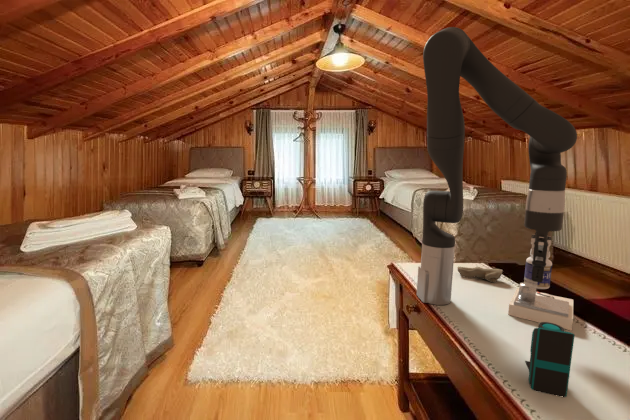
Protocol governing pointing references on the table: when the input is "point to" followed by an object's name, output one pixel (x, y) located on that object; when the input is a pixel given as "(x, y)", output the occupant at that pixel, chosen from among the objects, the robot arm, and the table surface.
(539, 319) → the scale housing
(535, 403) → the table surface
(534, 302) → the scale pan
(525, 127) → the robot arm
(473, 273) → the sculpture
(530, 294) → the cylinder
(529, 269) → the pill bottle
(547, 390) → the dark boxy piece
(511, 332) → the table surface
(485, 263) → the table surface
